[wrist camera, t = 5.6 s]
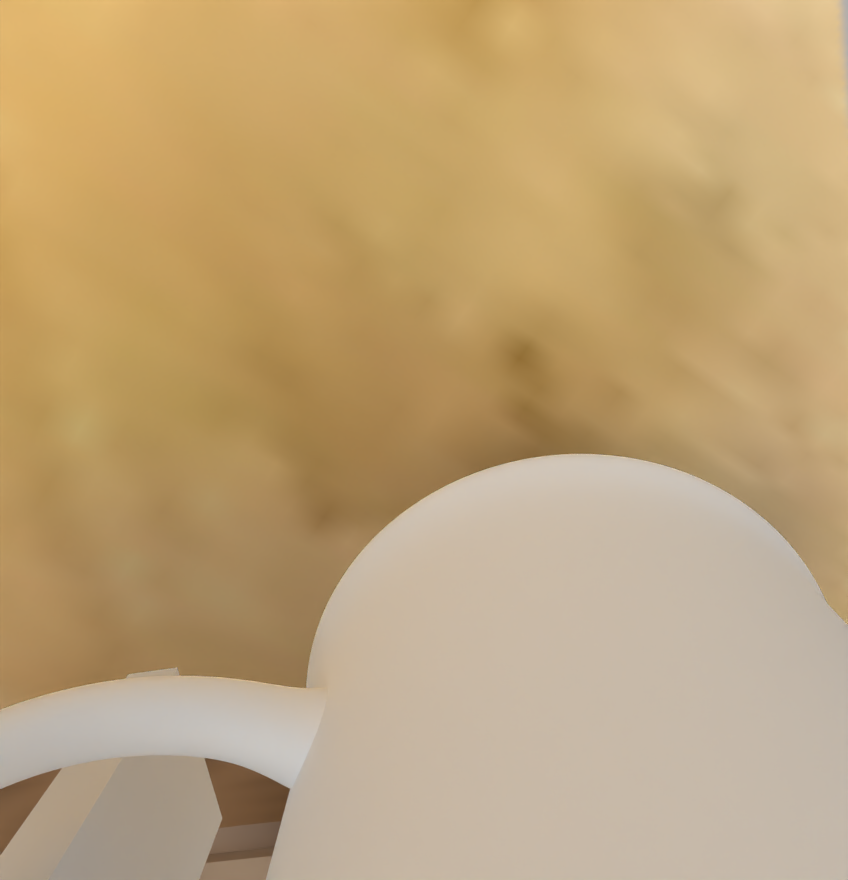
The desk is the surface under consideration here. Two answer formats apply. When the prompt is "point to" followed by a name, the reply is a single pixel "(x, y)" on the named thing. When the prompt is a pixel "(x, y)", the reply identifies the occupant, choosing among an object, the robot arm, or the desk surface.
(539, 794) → the mug
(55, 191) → the desk surface
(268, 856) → the tray
